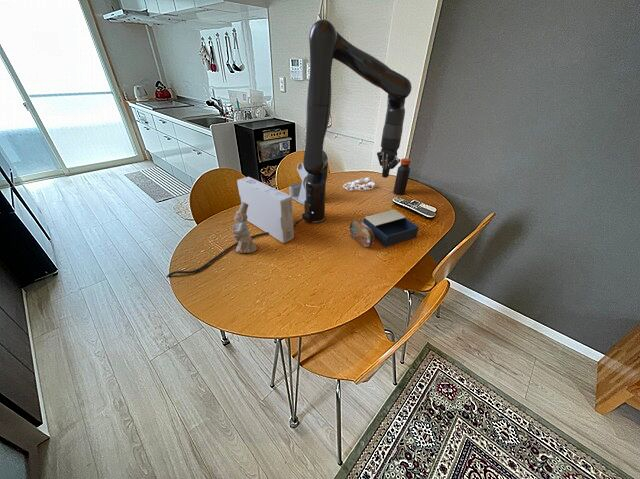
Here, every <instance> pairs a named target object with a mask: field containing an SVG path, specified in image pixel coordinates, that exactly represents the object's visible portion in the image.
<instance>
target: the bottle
mask: <svg viewBox="0 0 640 479" xmlns="http://www.w3.org/2000/svg"><path fill="white" fill-rule="evenodd" d="M410 164H411V159H410V158H406V157H403V158H401V159H400V165H399V166H398V167H397V169H396V176H395V181H394V186H393V193H394V194H395V195H398V196H403V195H405V194H406V190H407V186H408V181H409V177H410V172H411V168H410Z"/></svg>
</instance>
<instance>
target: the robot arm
mask: <svg viewBox="0 0 640 479" xmlns="http://www.w3.org/2000/svg"><path fill="white" fill-rule="evenodd" d="M308 42H309V78H308V86H307V94H306V95H307V97H306V112H305V113H306V120H305V146H304V153H303V159H302V163H303V166H304V168H305V170H306V172H307V173H308V175H307V178H306V200H305V201H304V205H303V206H304V207H303V208H304V212H303V213H301V219H299V220H297V221H296V222H295V223H294V224H293V228H295V227H296V226H297V225H298V224H299V223H300V222H302V221H305V222H307V223H309V224H319V223H322V222H324V221H325V220H326V191H327V190H326V189H327V181H328V180H327V179H328V169H329V158H328V157H329V156H328V154H327V153H326V151H324V141H325V137H326V134H327V131H328V126H329V123H330V117H331V109H332V66H333V61H334V60H335V61H338V62H339V63H341V64H343V65H344V66H346V67H348V68H349V70H352V71H353V72H354V73H355V74H357V75H358V76H359V77H361V78H362V79H364V80H365V81H367V82H368V83H370V84H372V85H373V86H375V87H377V88H379V89H381V90H383V91H384V92H385V93H386V94H387V102H386V103H387V106H386V113H385V119H384V123H383V124H384V125H383V129H382V134H381V142H380V147H381V149H380V151H378V152H376V156H377V160H378V163H379V166H380V167H381V168H382V172H381V177H382V178H384V179H386V178H388V177H389V176H390V170H394V169H395V168H396V167H397V166H398V164H400V163H401V159H400V158H399V157H398V150H399V149H400V146H401V141H402V135H403V130H404V122H405V116H406V108H405V104H406V99H407V98H408V97H409V96H410V94H411V92H412V82H411V80H410V79H408V77H406V76H405V75H402V74H401V73H399V72H397V71H395V70H393V69H392V68H390V67H389V66H388V65H387V64H386V63H384V62H383V61H381V60H379V59H378V58H376V57H375V56H373V55H372V54H370V53H368V52H367V51H364V50H362V49H360V48H358V47H357V46H356V45H354V44H352V43H351V42H349V41H348V40H346V38H344V37H343V36H342V35H341V34H340V32H338V31H337V29H336V27H335V25H334V24H333V23H332V22H331V21H330V20H328V19H325V18H321V19H318V20H317V21H315V23H313V24H312V25H311V28H310V30H309V35H308ZM333 59H334V60H333ZM264 235H270V234H269V232H261V233H256V234H254V235H251V236H250V235H249V236H250V238H252V239H253V238H256V237H259V236H264ZM238 243H239V241H238V242H235V243H234V244H232V245H230V246H229V247H227V248H225V249H224V250H223V251H221V252H220V253H219V254H217V255H216V256H214V257H213V258H211V259H210V260H209V261H207V262H206V263H205V264H203V265H202V266H200V267H198V268H196V269H193V270H174V271H171V272H169V273H168V274H167V275H166V276H165V277H166V278H167V279H168V278H170V277H171V276H172V275H174V274H193V273H196V272H199V271H200V270H203V269H205V268H206V267H207V266H208V265H210V264H211V263H213V262H214V261H215V260H217V259H218V258H220V257H221V256H222V255H224V254H225V253H227V252H228V251H230V250H231V249H233V248H234V247H237V245H238Z"/></svg>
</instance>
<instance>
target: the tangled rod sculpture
mask: <svg viewBox="0 0 640 479" xmlns="http://www.w3.org/2000/svg"><path fill="white" fill-rule="evenodd" d="M362 182H364V183H365V184H364V183H363V184H361V183H362ZM376 186H377V184H376V183H375V182H374V181H372V180H371V178H370V177H369V176H367V177H365V178H364V177H361V178H360V179H356V180H353V181H348V182H345V183H344V184H343V186H342V187H343V188H344V189H345V190H346V191H350V192H352V191H356V190H358V191H361V192H363V191H366V190H369V188H370V190H372V189H373V188H374V187H376Z"/></svg>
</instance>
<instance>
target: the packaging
mask: <svg viewBox="0 0 640 479" xmlns="http://www.w3.org/2000/svg"><path fill="white" fill-rule="evenodd" d="M236 184H237V189H238V195H239V200H240V204H241V203H242V202H244V203H247V204H248V209H247V213H246V215H247V216H248V218H247V220H246V222H249V223H250V224H252V225H254V226H255V227H256V228H259V229H260V230H262V231H264V233H266V232H269V234H268V235H270V236H271V237H273V238H274V239H276V240H278V241H279V242H281V243H283V244H286V243H287V242H289V241H291V240H293V239H295V231H294V228H295V227H293V225H294V214H293V213H294V212H293V211H294V210H293V199H292V197H291V196H290V194H288V193H286V192H284V191H282V190H279V189H276V188H274V187H272V186H270V185H268V184H266V183H264V182H261V181H259V180H258V179H255V178H253V177H250V176H245V177H241V178H239V179H236Z"/></svg>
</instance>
